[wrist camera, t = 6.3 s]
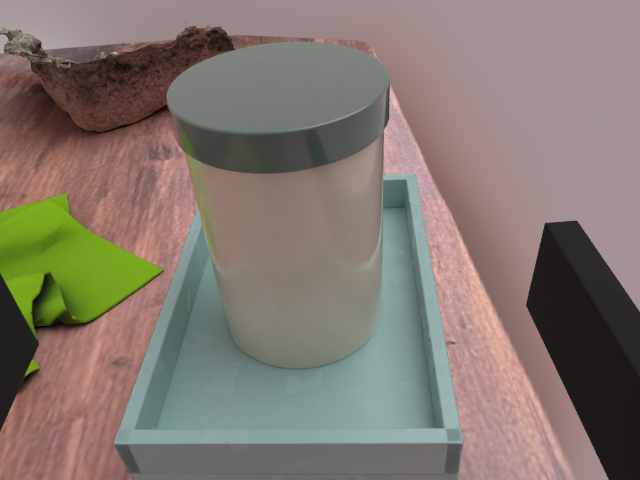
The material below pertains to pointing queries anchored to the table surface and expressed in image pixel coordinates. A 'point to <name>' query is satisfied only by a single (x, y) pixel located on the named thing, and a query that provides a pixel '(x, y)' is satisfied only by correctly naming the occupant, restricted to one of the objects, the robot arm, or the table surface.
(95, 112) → the rock
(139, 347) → the table surface
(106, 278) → the cloth
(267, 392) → the teal and tan box
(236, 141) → the jar
